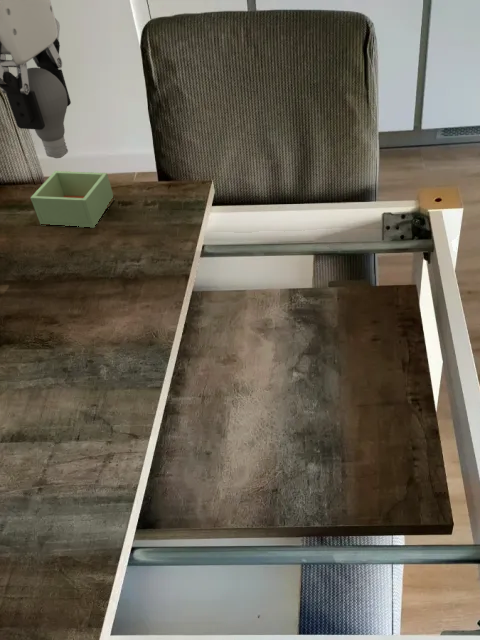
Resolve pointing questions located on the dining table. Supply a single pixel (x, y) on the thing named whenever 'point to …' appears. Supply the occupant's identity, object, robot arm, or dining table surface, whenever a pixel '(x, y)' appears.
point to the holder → (72, 198)
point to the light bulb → (50, 110)
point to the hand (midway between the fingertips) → (45, 114)
